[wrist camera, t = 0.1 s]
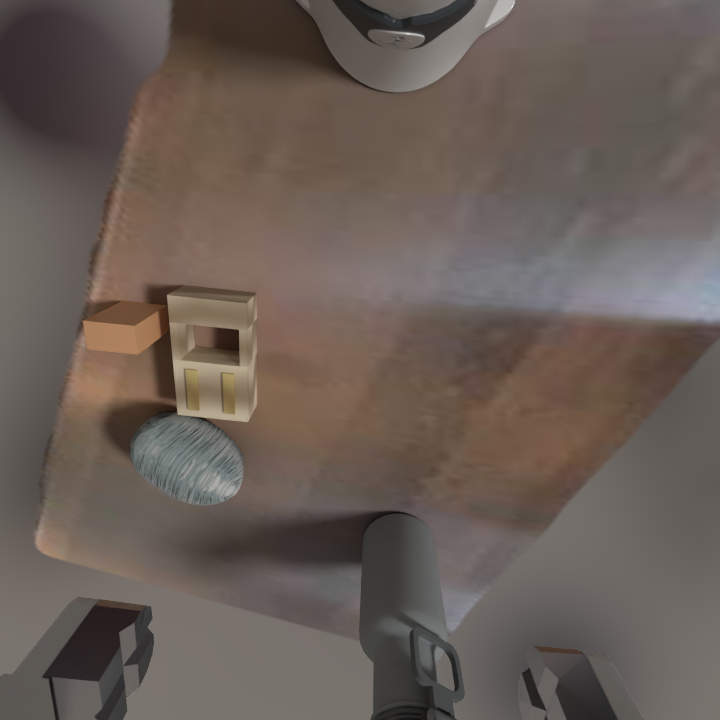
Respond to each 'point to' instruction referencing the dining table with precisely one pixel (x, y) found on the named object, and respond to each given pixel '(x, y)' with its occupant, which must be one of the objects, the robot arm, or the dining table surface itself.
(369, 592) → the water bottle
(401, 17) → the robot arm
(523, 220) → the dining table surface
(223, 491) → the spool
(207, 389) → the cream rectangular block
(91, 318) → the orange rectangular block
